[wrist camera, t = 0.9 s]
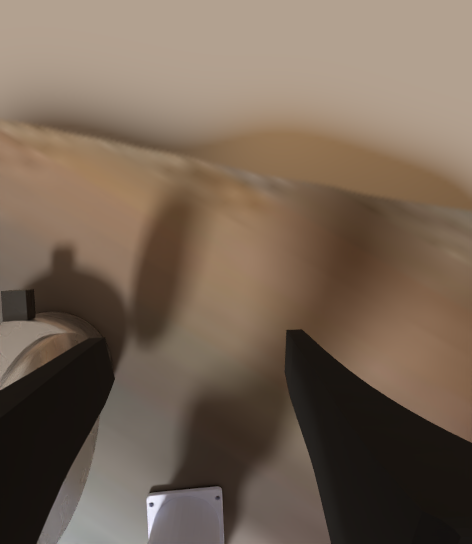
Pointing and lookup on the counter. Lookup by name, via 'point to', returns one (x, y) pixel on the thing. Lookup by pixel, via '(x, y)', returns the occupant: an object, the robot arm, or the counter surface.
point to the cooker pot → (33, 325)
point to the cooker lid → (79, 470)
